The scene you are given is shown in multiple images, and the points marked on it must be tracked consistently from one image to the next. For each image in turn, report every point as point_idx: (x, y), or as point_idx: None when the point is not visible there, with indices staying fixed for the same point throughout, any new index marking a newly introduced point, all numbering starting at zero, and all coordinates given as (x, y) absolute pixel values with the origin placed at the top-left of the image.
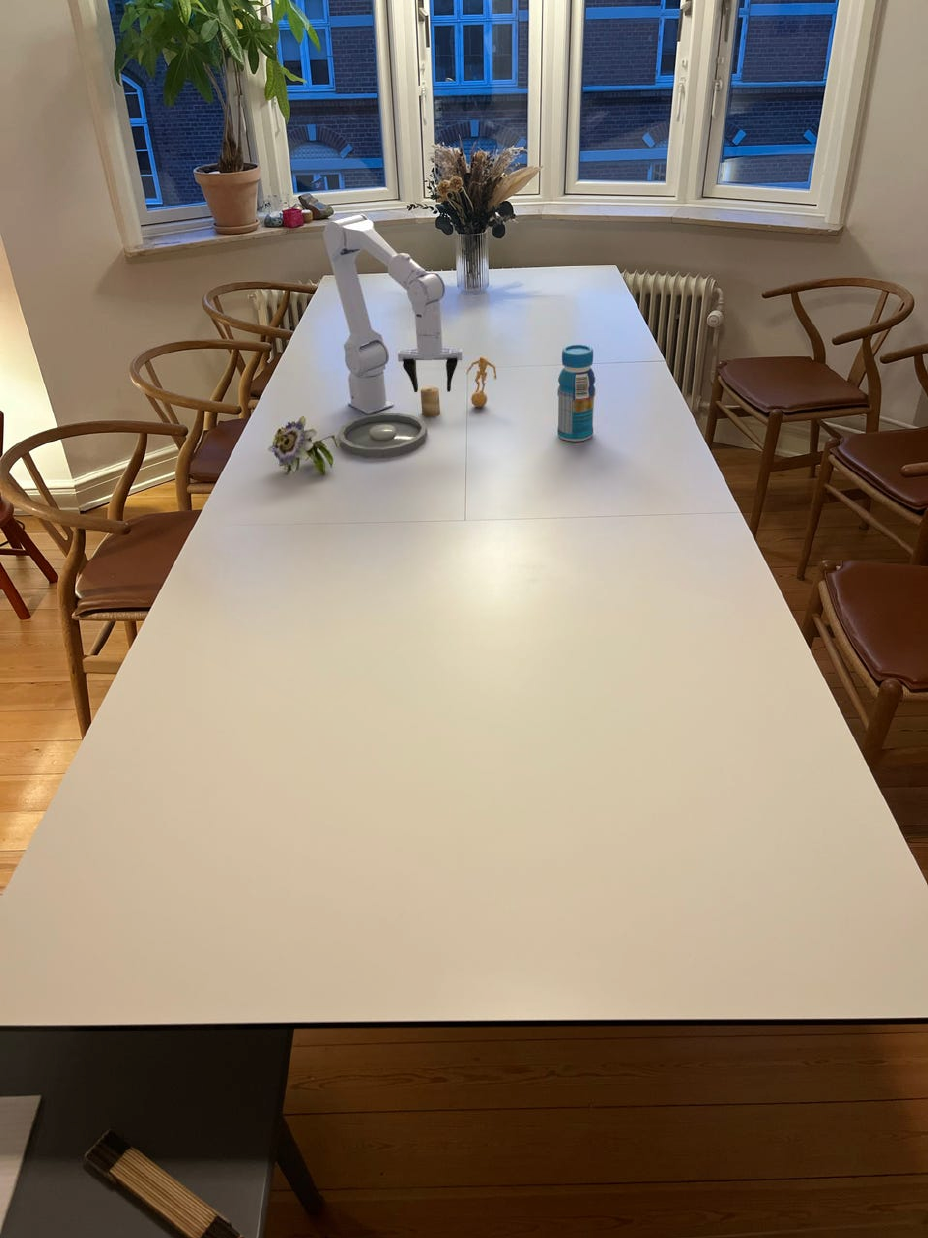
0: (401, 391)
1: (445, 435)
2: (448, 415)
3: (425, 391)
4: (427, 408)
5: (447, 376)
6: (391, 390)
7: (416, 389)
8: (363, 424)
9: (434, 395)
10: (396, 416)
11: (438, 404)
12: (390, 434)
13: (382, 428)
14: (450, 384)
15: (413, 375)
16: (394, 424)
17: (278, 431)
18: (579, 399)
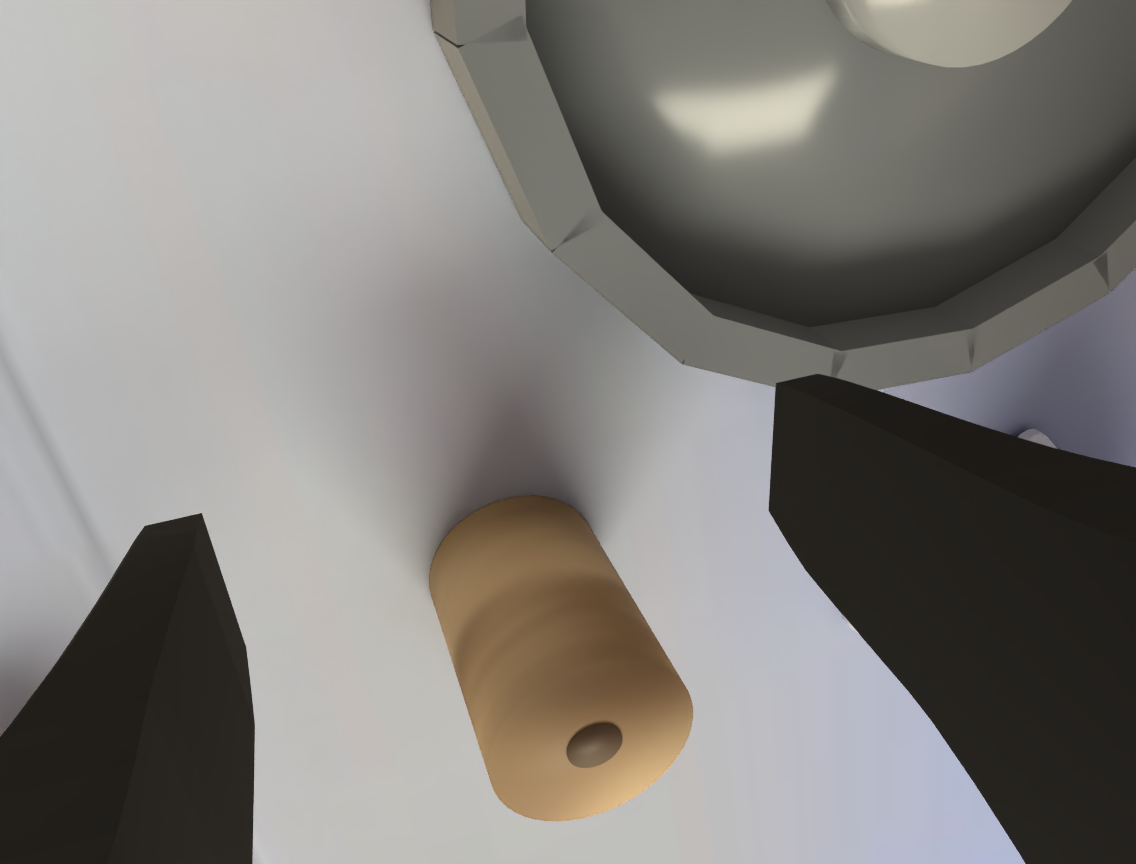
0: (793, 818)
1: (183, 28)
2: (326, 560)
3: (631, 696)
4: (553, 544)
5: (123, 737)
6: (857, 809)
7: (812, 389)
8: (1098, 187)
9: (512, 674)
10: (834, 342)
11: (453, 631)
12: None
13: None
14: (88, 615)
15: (1075, 500)
16: (830, 225)
17: None
18: None
